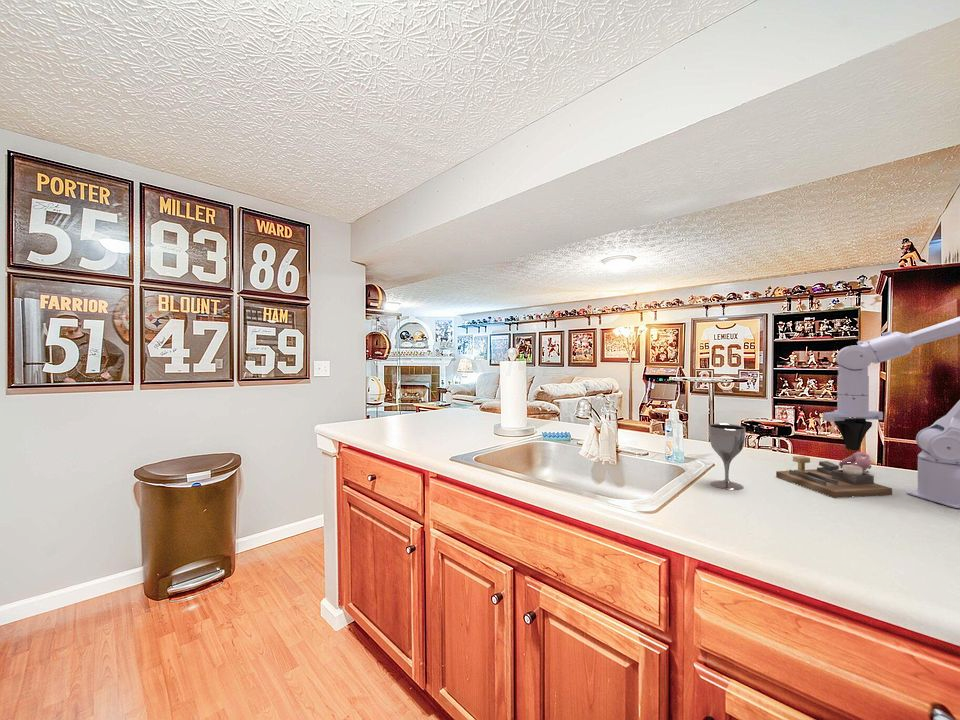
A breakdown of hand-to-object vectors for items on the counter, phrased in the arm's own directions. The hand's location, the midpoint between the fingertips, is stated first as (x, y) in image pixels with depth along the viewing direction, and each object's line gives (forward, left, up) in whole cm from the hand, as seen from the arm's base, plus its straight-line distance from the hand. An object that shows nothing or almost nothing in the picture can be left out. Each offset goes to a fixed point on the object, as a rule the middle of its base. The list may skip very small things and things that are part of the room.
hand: (852, 449), depth 100 cm
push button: (0, 0, -6) cm, 6 cm away
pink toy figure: (+10, -13, -10) cm, 19 cm away
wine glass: (+6, +29, -10) cm, 31 cm away
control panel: (+2, +4, -9) cm, 10 cm away
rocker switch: (+6, -1, -6) cm, 9 cm away
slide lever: (+6, +8, -7) cm, 13 cm away
